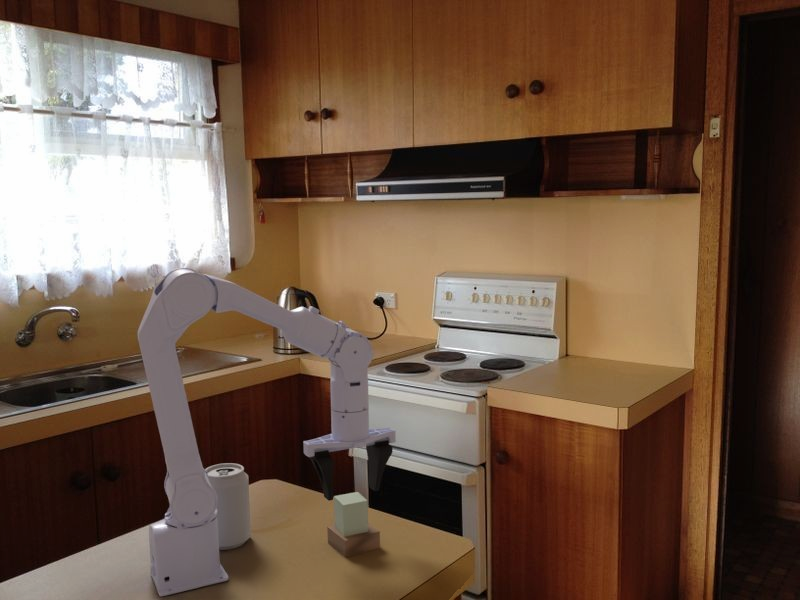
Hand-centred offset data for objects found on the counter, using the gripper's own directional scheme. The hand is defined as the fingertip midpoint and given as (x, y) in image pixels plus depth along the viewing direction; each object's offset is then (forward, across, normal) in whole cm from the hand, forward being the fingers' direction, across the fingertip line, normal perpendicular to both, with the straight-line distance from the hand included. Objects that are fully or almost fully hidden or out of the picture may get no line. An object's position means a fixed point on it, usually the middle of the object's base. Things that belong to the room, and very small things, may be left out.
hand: (351, 493), depth 115 cm
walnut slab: (+9, 0, 0) cm, 9 cm away
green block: (+6, 0, 0) cm, 6 cm away
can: (+9, -17, +11) cm, 22 cm away
